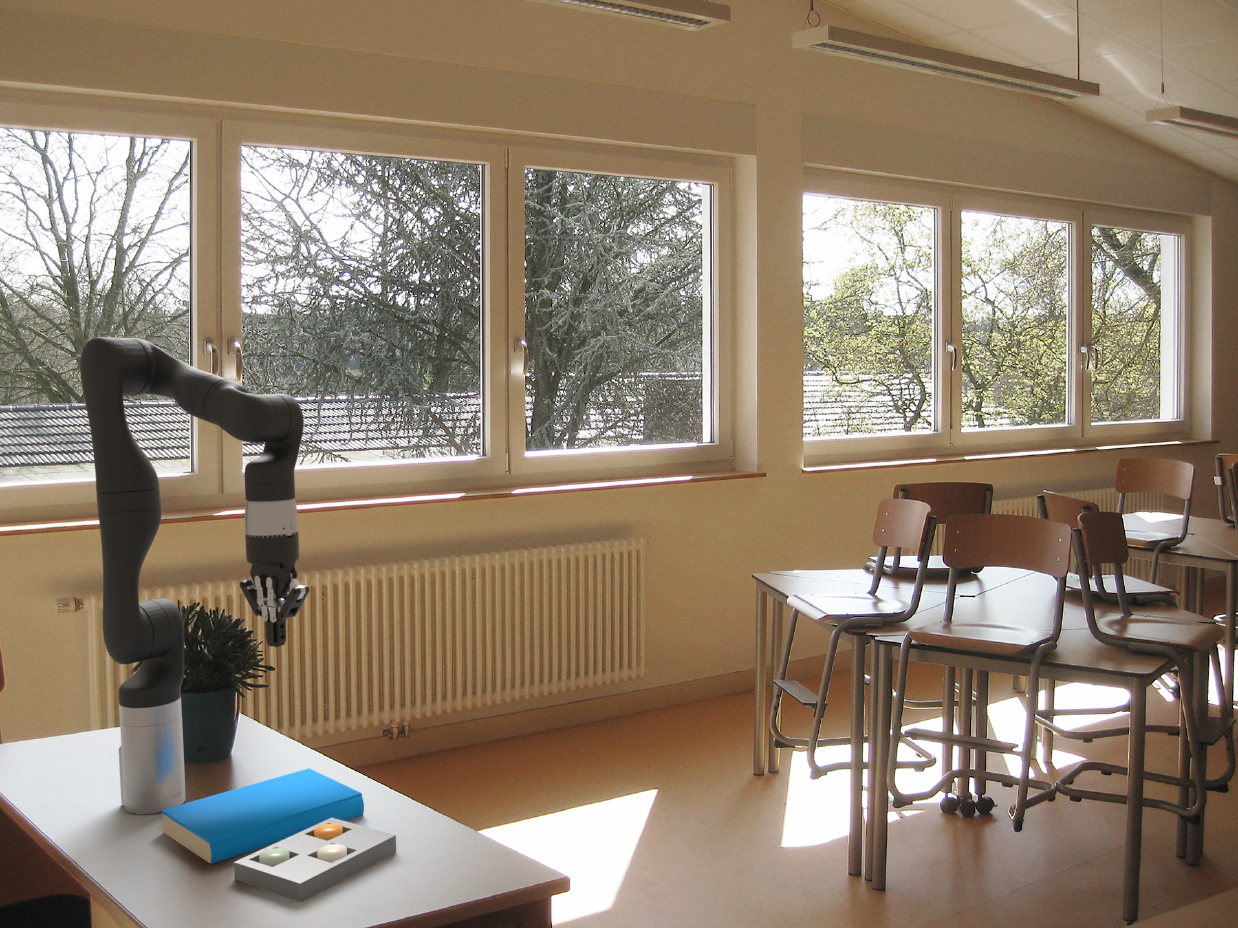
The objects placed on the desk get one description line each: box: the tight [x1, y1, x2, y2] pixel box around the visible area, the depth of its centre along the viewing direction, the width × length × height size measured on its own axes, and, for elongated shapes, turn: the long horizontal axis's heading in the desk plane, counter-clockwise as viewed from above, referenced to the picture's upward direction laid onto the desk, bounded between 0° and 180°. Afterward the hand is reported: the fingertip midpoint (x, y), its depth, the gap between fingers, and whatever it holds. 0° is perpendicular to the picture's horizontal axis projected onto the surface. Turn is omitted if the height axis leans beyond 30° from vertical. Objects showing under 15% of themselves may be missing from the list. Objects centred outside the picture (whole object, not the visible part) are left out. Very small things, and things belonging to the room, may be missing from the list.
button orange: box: [314, 824, 343, 841], centre depth 166 cm, size 4×4×2 cm
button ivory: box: [317, 844, 347, 863], centre depth 158 cm, size 4×4×2 cm
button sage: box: [259, 848, 290, 867], centre depth 157 cm, size 4×4×2 cm
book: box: [161, 768, 365, 865], centre depth 175 cm, size 17×4×25 cm
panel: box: [233, 818, 397, 902], centre depth 160 cm, size 13×18×2 cm
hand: (276, 645), depth 169 cm, fingers closed
